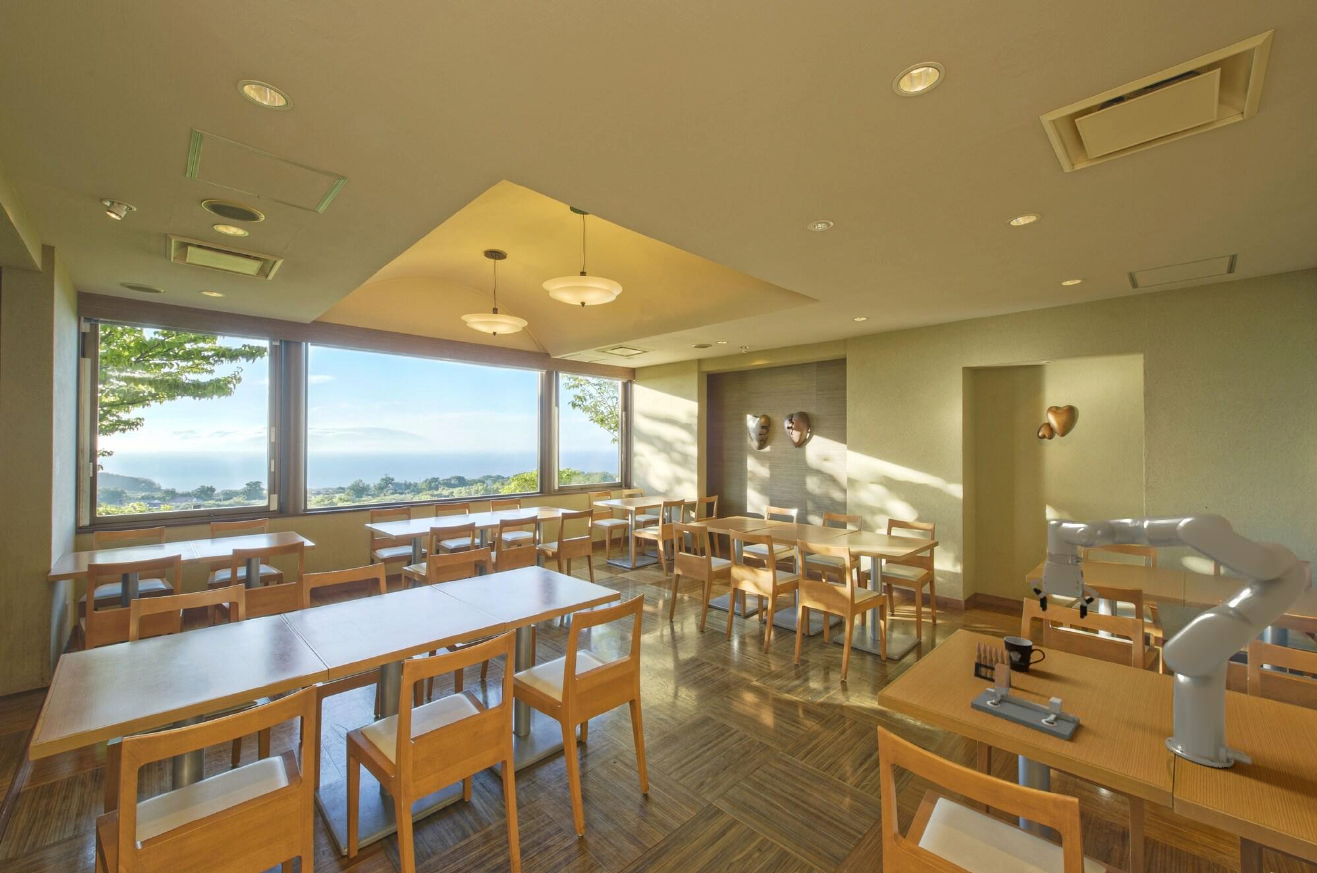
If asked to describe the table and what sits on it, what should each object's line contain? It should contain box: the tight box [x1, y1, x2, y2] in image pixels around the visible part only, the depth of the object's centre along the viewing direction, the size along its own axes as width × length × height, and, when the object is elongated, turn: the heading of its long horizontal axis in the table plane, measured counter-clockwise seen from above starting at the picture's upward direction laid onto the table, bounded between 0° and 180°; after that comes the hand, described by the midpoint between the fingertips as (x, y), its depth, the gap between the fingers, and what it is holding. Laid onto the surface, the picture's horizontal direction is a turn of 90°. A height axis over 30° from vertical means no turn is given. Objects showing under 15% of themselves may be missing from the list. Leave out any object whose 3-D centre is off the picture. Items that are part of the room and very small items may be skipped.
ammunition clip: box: [974, 641, 1012, 688], centre depth 182 cm, size 11×2×12 cm, turn 40°
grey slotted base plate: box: [970, 687, 1081, 742], centre depth 159 cm, size 24×14×6 cm, turn 41°
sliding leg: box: [992, 663, 1010, 705], centre depth 165 cm, size 3×9×10 cm, turn 131°
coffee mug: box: [1003, 636, 1046, 674], centre depth 191 cm, size 12×9×10 cm
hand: (1063, 613), depth 167 cm, fingers open, 9 cm apart
